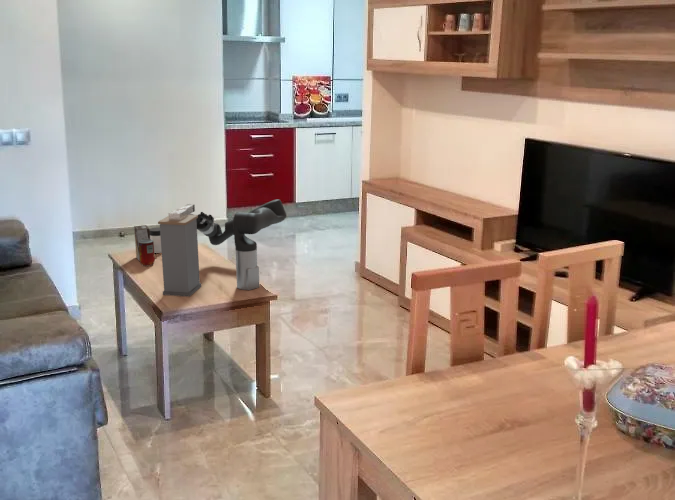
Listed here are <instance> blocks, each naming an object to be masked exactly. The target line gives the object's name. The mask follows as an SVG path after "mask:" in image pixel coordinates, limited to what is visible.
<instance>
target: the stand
mask: <svg viewBox="0 0 675 500" xmlns="http://www.w3.org/2000/svg"><path fill="white" fill-rule="evenodd" d="M198 215H199V214H194V215H188V217H186V218H184V219H183V220H181V221H171V220H169V216H165V217H164V218H162V219H160V220H158V221H157V224H158V225H159V228H160V236H161V251H162V254H161V263H162V278H163V290H162V295H163V296H174V297H191V296H192V295H193V294H194V293H196V292H197V291H198V290H199V289H200V288H201V287H202V283H201V281H200V264H199V263H200V262H199V243H198V229H197V221H196V219H197V218H198Z"/></svg>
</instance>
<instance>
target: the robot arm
mask: <svg viewBox="0 0 675 500" xmlns="http://www.w3.org/2000/svg"><path fill="white" fill-rule="evenodd" d="M189 215H195V214H193V213H191V214H189ZM197 215H198V218H197V219H196V221H197V231H199V232H200V233H202V234H203V235H205V236H206V237H208V239H209V242H210V244H211V245H213V246H219V245H220V244H223V243H224V242H226V240H228V239H230V238H231V237H232V236H233V237H234V239H233V240H234V246H235V248H234V249H235V272H236V276H235V277H236V288H237V289H239V290H245V291H246V290H247V291H251V290H254V289H257V288H260V267H259V266H258V243H257V242H256V241H255V240H253V239H251V238H249V237H247V236H246V235H256V234H257V233H259V232H260V231H261V230H263V229H266V228H269V227H270V226H272V225H275V224H276V225H277V224H278V223H281V222H283V221H284V220H286V218H287V213H286V210H285V208H284V205H283V203H282V201H281V199H273V200H271V201H268V202H266V203H264V204H262V205H260V206H258V207H256V208H254V209H252V210H250V211H249V212H243V211H239V212H236V213H235V214H234V216H233V219H231V220H227V221H226V222H225V223H224V231H223V230H222V227H221V226H220V224H219V223H217V222H214V221H215V217H214V216H213V215H212V214H207V213H204V212H203V211H200V213H199V214H197Z"/></svg>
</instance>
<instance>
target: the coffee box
mask: <svg viewBox="0 0 675 500" xmlns="http://www.w3.org/2000/svg"><path fill="white" fill-rule="evenodd" d="M150 229H151V228H149V226H147V225H145V224H144V225H143V224H141V225H136V226H135V225H134V226H133V231H134V242H135V243H134V244H135V254H136V255H135V256H136V259H137V260H138V261H139V262H140V255H139V241H140V240H142V239H150Z"/></svg>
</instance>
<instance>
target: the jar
mask: <svg viewBox="0 0 675 500" xmlns="http://www.w3.org/2000/svg"><path fill="white" fill-rule="evenodd" d="M149 229H150V239H151V240H153V242H154V253H162V251H161V236H160V226H159V227H151V228H149Z"/></svg>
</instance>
